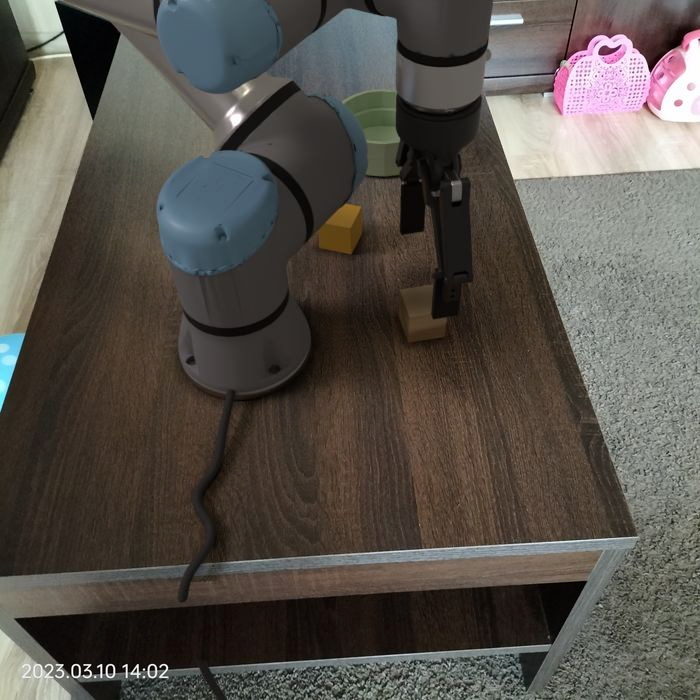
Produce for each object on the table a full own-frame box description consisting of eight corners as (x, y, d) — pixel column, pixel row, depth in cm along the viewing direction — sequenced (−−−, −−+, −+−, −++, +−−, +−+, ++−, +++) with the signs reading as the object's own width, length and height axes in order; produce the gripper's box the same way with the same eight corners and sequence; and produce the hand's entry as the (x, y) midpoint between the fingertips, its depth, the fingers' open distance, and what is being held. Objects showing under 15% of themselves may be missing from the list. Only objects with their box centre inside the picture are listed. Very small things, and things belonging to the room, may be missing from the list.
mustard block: (351, 254, 95) (350, 228, 92) (319, 248, 96) (317, 221, 93) (362, 233, 98) (361, 206, 94) (330, 226, 99) (329, 200, 95)
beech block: (445, 337, 85) (448, 310, 82) (407, 343, 85) (409, 317, 81) (434, 309, 88) (437, 283, 85) (398, 315, 88) (399, 289, 84)
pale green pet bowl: (425, 182, 104) (427, 146, 100) (328, 175, 106) (326, 139, 102) (433, 127, 114) (435, 91, 109) (343, 121, 115) (342, 86, 111)
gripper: (531, 169, 56) (497, 349, 72) (441, 22, 72) (430, 196, 88) (436, 183, 55) (423, 362, 71) (367, 31, 71) (369, 205, 87)
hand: (427, 271), depth 79 cm, fingers open, 13 cm apart
